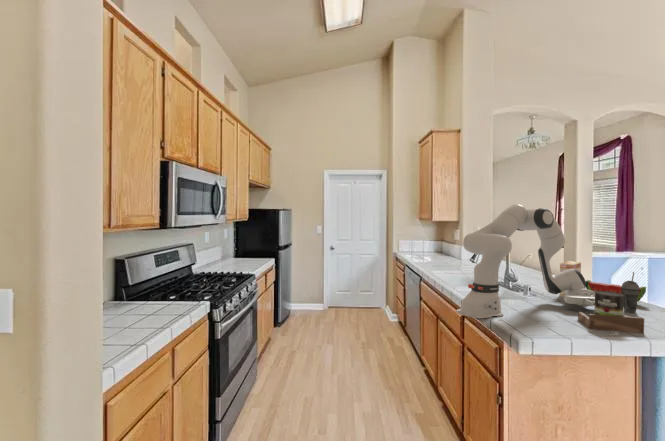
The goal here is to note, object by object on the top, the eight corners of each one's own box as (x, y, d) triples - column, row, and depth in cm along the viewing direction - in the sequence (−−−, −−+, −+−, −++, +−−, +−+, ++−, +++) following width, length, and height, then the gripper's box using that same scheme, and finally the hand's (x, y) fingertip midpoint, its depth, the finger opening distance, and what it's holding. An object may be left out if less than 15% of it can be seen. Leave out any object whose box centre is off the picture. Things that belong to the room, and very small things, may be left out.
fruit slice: (584, 298, 210) (585, 281, 209) (587, 296, 214) (587, 279, 214) (644, 307, 191) (645, 288, 191) (645, 304, 195) (646, 286, 195)
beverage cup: (619, 309, 186) (620, 270, 186) (637, 311, 183) (638, 271, 182) (621, 312, 180) (622, 272, 180) (640, 314, 176) (641, 273, 176)
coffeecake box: (567, 292, 226) (568, 260, 226) (581, 294, 221) (581, 262, 220) (558, 295, 217) (559, 262, 216) (572, 297, 211) (573, 264, 211)
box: (578, 319, 168) (578, 306, 168) (626, 323, 163) (627, 309, 163) (590, 328, 155) (590, 314, 155) (643, 333, 150) (644, 318, 150)
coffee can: (621, 330, 153) (621, 297, 152) (591, 325, 160) (592, 293, 160) (625, 325, 160) (626, 293, 159) (596, 320, 167) (597, 289, 167)
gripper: (560, 290, 190) (569, 295, 177) (606, 292, 184) (619, 298, 171) (560, 302, 190) (569, 308, 177) (605, 305, 185) (619, 312, 171)
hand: (594, 303), depth 174 cm, fingers closed
